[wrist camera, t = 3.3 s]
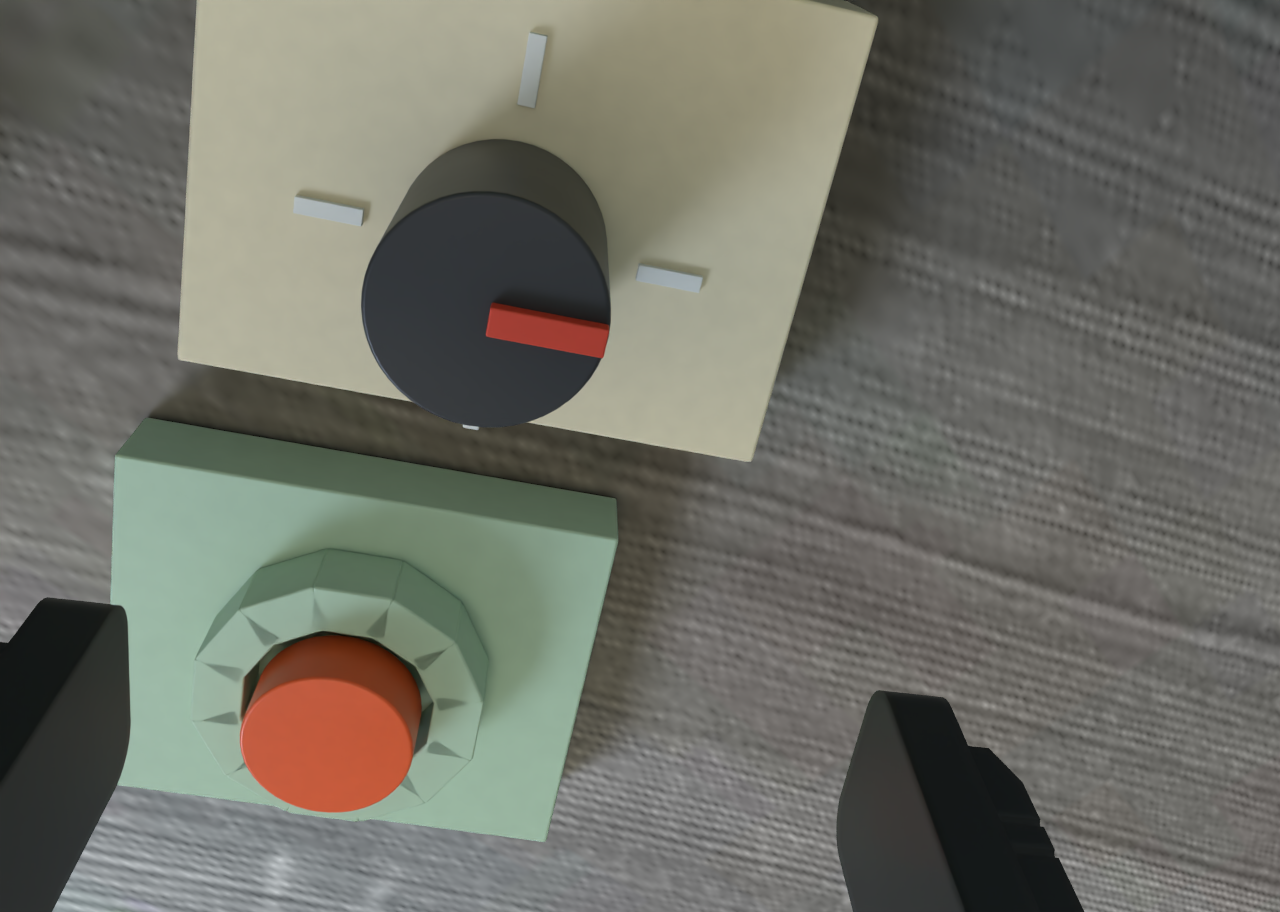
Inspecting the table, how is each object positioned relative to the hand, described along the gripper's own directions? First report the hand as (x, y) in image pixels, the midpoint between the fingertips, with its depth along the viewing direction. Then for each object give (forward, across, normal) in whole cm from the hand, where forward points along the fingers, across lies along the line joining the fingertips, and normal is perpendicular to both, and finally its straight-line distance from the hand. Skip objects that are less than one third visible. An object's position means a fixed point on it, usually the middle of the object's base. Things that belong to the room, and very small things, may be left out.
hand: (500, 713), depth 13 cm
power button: (+14, +4, +11) cm, 18 cm away
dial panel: (+17, +1, -2) cm, 17 cm away
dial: (+14, +1, -1) cm, 14 cm away
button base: (+17, +4, +11) cm, 21 cm away
